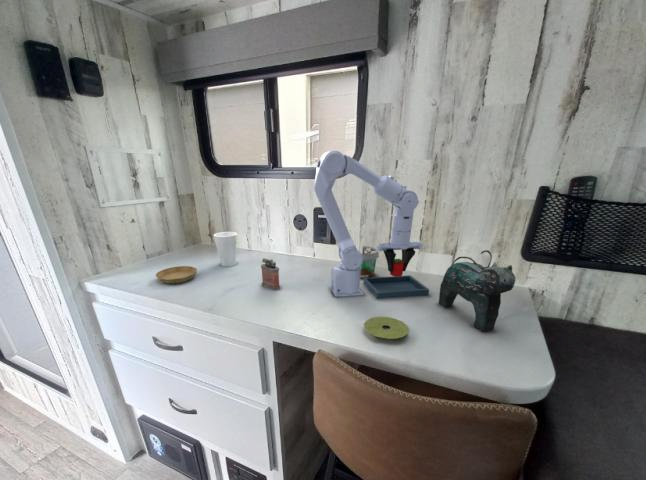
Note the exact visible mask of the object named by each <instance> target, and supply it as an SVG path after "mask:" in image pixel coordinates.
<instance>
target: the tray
mask: <svg viewBox="0 0 646 480" xmlns="http://www.w3.org/2000/svg"><path fill="white" fill-rule="evenodd" d="M363 285H364V286H365V287H366V288H367V289H368V290H369V292H370V293H371V294H372V295H373V296H374V298H375V299H376V300H382V299H394V298H395V299H396V298H410V297H424V296H429V293H430V289H429V288H428V287H426V286H425V285H424V284H422V283H421V282H420V281H419V280H418V279H416V278H415V277H413V276H412V275H411V274H410V275H409V274H408V275H402V276H392V275H390V276H377V277H371V278H364V279H363Z"/></svg>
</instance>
